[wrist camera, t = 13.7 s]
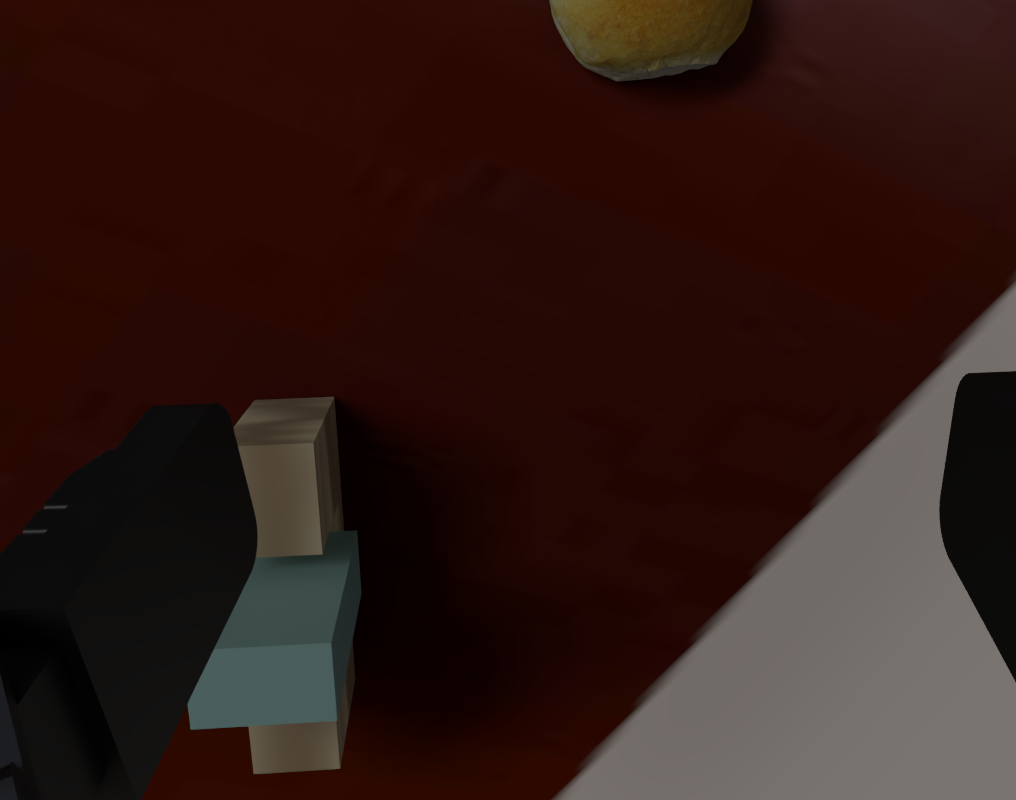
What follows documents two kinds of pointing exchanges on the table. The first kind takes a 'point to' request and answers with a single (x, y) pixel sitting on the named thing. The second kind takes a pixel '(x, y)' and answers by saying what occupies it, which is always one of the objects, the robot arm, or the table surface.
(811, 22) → the table surface
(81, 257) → the table surface
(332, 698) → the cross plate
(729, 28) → the bread roll
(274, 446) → the slot plate
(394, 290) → the table surface
